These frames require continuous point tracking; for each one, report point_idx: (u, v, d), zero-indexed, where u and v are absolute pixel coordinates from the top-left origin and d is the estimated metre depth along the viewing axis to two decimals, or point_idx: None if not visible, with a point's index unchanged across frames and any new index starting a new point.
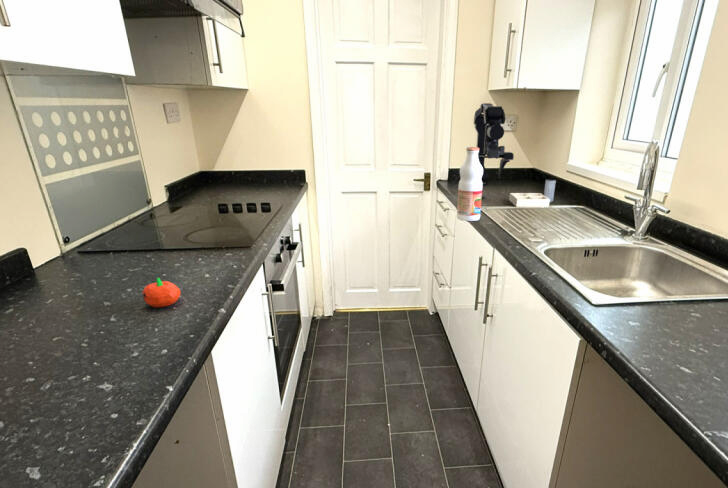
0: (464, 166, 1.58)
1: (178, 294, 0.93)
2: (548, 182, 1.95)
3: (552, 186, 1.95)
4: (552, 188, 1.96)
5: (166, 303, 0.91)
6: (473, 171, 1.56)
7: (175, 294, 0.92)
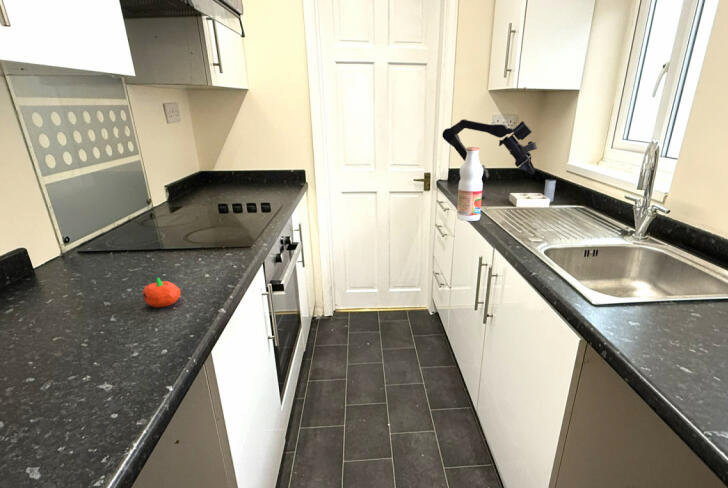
0: (464, 166, 1.58)
1: (178, 294, 0.93)
2: (548, 182, 1.95)
3: (552, 186, 1.95)
4: (552, 188, 1.96)
5: (166, 303, 0.91)
6: (473, 171, 1.56)
7: (175, 294, 0.92)
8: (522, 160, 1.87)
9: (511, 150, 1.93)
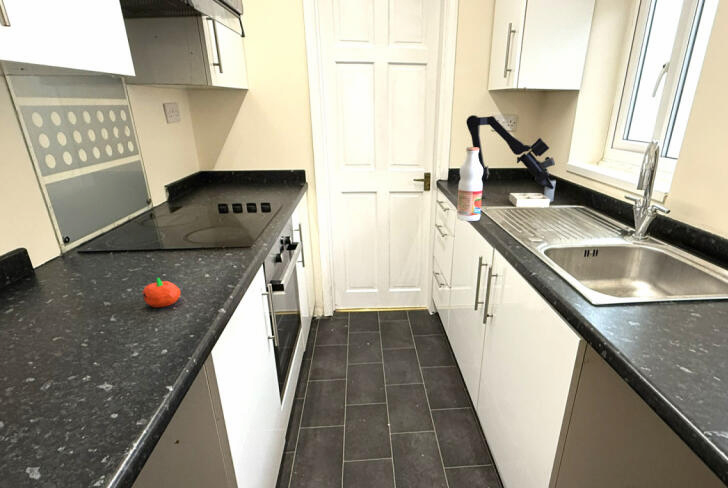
0: (464, 166, 1.58)
1: (178, 294, 0.93)
2: None
3: None
4: None
5: (166, 303, 0.91)
6: (473, 171, 1.56)
7: (175, 294, 0.92)
8: (543, 176, 1.88)
9: (529, 167, 1.95)
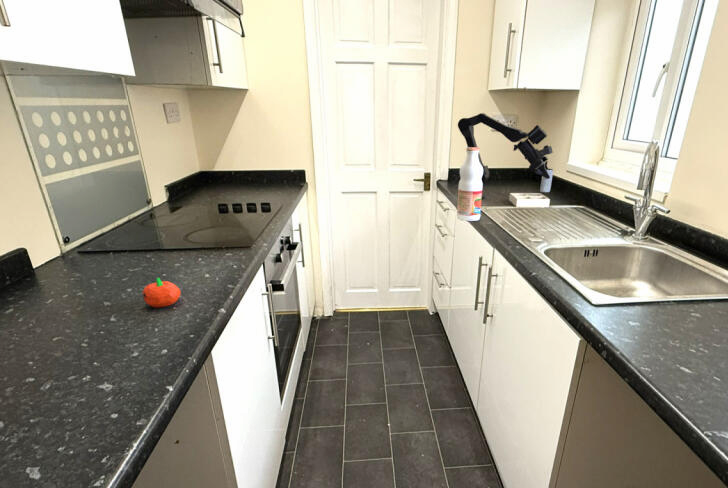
0: (464, 166, 1.58)
1: (178, 294, 0.93)
2: None
3: None
4: None
5: (166, 303, 0.91)
6: (473, 171, 1.56)
7: (175, 294, 0.92)
8: (536, 165, 1.83)
9: (526, 155, 1.90)
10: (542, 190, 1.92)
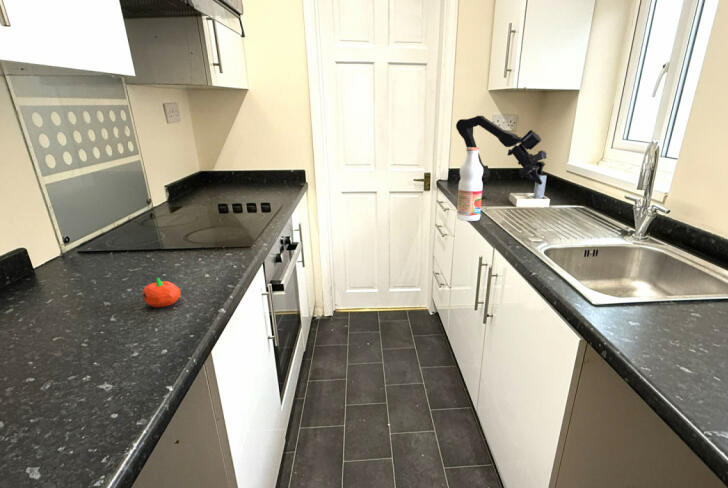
0: (464, 166, 1.58)
1: (178, 294, 0.93)
2: None
3: None
4: None
5: (166, 303, 0.91)
6: (473, 171, 1.56)
7: (175, 294, 0.92)
8: (526, 170, 1.81)
9: (519, 160, 1.88)
10: (535, 196, 1.90)
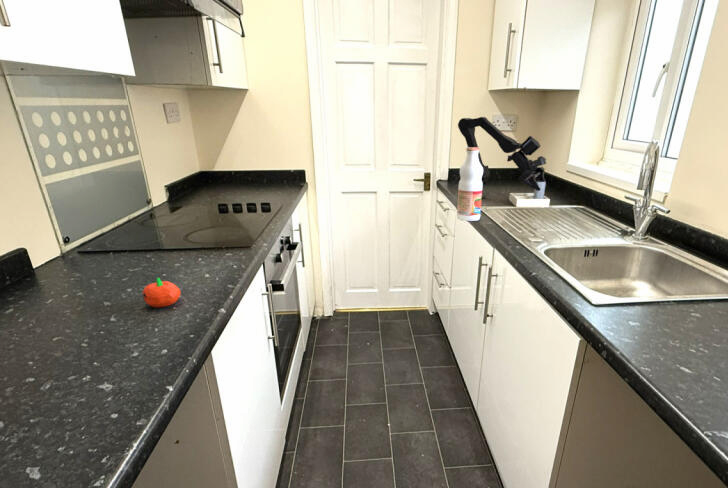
0: (464, 166, 1.58)
1: (178, 294, 0.93)
2: None
3: (540, 188, 1.87)
4: (540, 190, 1.87)
5: (166, 303, 0.91)
6: (473, 171, 1.56)
7: (175, 294, 0.92)
8: (525, 176, 1.82)
9: (518, 165, 1.89)
10: None
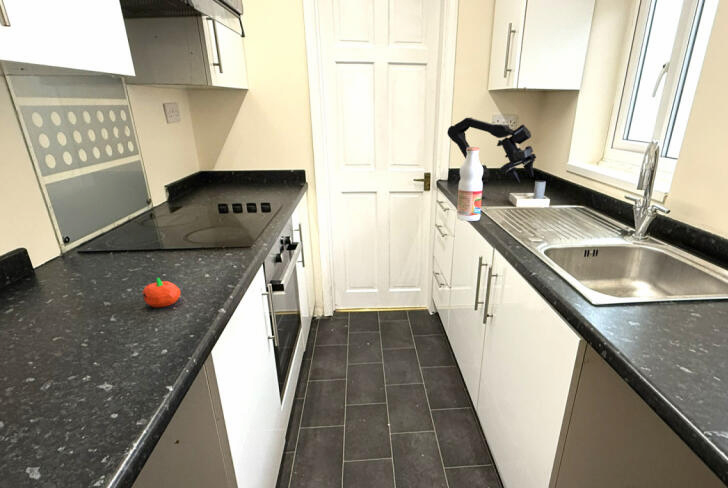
0: (464, 166, 1.58)
1: (178, 294, 0.93)
2: (536, 183, 1.88)
3: (540, 188, 1.87)
4: (540, 190, 1.87)
5: (166, 303, 0.91)
6: (473, 171, 1.56)
7: (175, 294, 0.92)
8: (504, 168, 1.86)
9: (506, 153, 1.91)
10: None
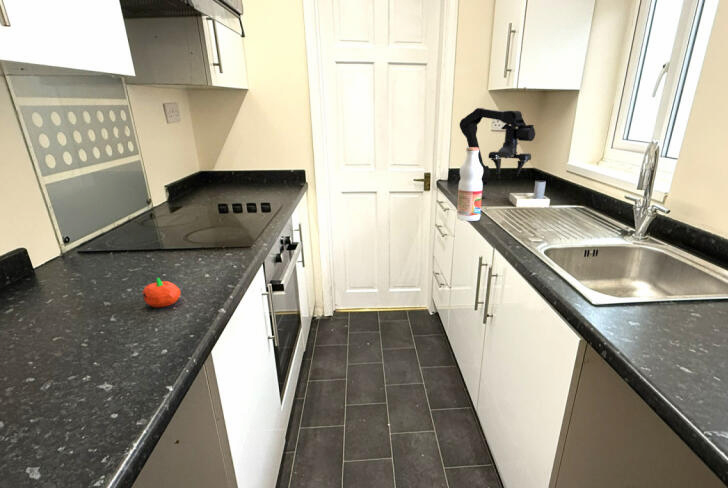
0: (464, 166, 1.58)
1: (178, 294, 0.93)
2: (536, 183, 1.88)
3: (540, 188, 1.87)
4: (540, 190, 1.87)
5: (166, 303, 0.91)
6: (473, 171, 1.56)
7: (175, 294, 0.92)
8: None
9: None
10: None
